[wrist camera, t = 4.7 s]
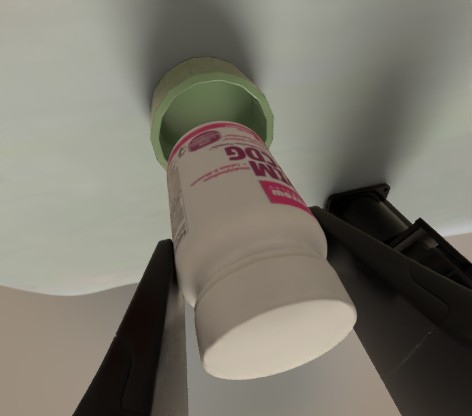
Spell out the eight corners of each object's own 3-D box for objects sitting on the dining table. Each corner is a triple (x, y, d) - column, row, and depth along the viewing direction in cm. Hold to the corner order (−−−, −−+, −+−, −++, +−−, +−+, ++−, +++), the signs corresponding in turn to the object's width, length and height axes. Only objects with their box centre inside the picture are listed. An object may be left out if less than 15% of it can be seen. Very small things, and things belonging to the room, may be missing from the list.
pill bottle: (274, 117, 12) (412, 273, 6) (257, 202, 15) (336, 364, 9) (161, 116, 11) (183, 312, 5) (168, 209, 14) (186, 403, 8)
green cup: (255, 49, 17) (275, 63, 14) (257, 152, 22) (272, 176, 19) (136, 65, 16) (133, 83, 13) (165, 170, 21) (168, 198, 18)
